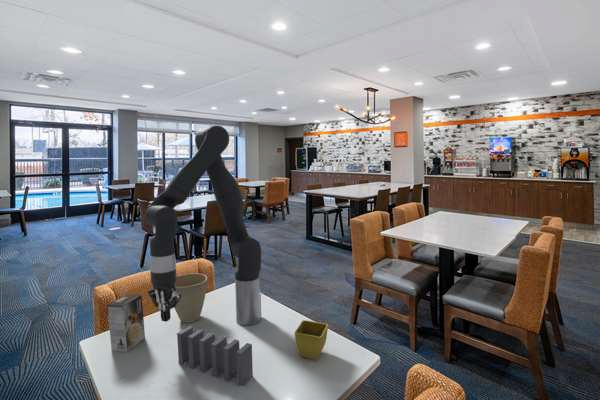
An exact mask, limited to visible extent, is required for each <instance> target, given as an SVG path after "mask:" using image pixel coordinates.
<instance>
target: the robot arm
mask: <svg viewBox="0 0 600 400" xmlns="http://www.w3.org/2000/svg"><path fill="white" fill-rule="evenodd" d="M194 142H195V143H194V144H195V146H196V150H197V152H196V153H195V154H194V155H193V156H192V157H191V159H190V160H188V162H187V163H185V165H183V166H182V167H181V168H180V169H179V170H178V171H177V172H176V173H175V175H174V176H173V177H172V179H171V181H170V182H169V183H168V185H167V186H166V188H165V190H164V191H162V192H161V193H160V194H159V195H158V196H156V198H155V199H154V200H153V201H152V202H151V203H150V204H149V205H148V207H147V209H145V214H144V220H145V223H147V224H148V225H149V226H151V227H154V228H155V233H154V236H153V235H152V237H150V239H149V250H150V251H149V253H150V255H149V257H150V258H149V269H150V271H149V272H150V284H151V285H152V288H151V289H149V290H148V291H147V293H148V295H149V297H150V299H151V301H152V303H153V304H154V306H155V307H156V308H158V309H159V311H160V319H161V322H164V323H167V322H169V320H170V319H171V310H172V309H175V308H174V307H175V306H176V305H177V303H178V302H179V300H180V299H181V297H182V296H181V294H179V295H178V294H177V293H176V292H175V291H176V288H175V285H174V284H175V282H176V280H177V278H176V276H177V261H176V253H175V237H176V232H177V227H178V214H177V212H176V210H175V208H176V207H177V206H179V205H183V204H184V203H185V202H186V201H187V199H188V197H189V196H190V194H191V193H192V192H193V190H194V188H195V187H196V185H197V183H198V182H199V181H200V179H201V178H202V177H203V175H204V174H205V173H207V176H208V179H209V182H210V185H211V188H212V190H213V191H212V192H213V194H214V197H215V200H216V204H217V206H218V209H219V211H220V215H221V217H222V220H223V222H224V225H225V228H226V232H227V236H228V243H229V246H230V250H231V252H232V255H233V256H234V257H236V258H237V259H238V267H237V269H235V272H234V284H235V286H234V289H235V315H236V317H235V318H236V319H235V320H236V323H237V324H238V325H241V326H254V325H256V324H258V323H259V322H260V321H261V317H262V294H261V293H260V292H261V290H260V289H261V288H260V272H261V269H262V246H261V243H260V242H259V240H257V239H256V238H254V237H251V236H250V235H249V233H248V230H247V228H246V225H245V220H244V209H245V208H244V200H243V199H244V198H243V195H242V193H241V188H240V186H239V184H238V182H237V181H236V178H235V177H234V176H233V175H232V173H231V172H230V171H229V170H228V168H227V167H226V165H225V163H224V161H223V157H222V155H221V154H222V153H223V152H224V151H225V150H226V149H227V148H228V146H229V142H230V135H229V132H228V131H227V129H226V128H225V127H223V126H222V125H210V126H206V127H202V128H200V129H198V130H197V131H196V132H195V137H194Z"/></svg>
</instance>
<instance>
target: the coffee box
mask: <svg viewBox="0 0 600 400" xmlns="http://www.w3.org/2000/svg"><path fill="white" fill-rule="evenodd" d="M106 307H107V315H108V317H107V318H108V326H109V335H110V336H109V337H110V349H111V351H116V352H125V353H128V352H129V351H130V350H132V349H133V348H134V347H135V346H137V345H138V344H139V343H140V342H142V341H143V340H144V339H146V338H145V337H146V333H145V323H144V322H145V321H144V311H143V310H144V308H143V296H142V294H129V293H126V294H124V295H122V296H120V297H119V298H117V299H115V300H112V302H109V303H108V304H107V306H106Z"/></svg>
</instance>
